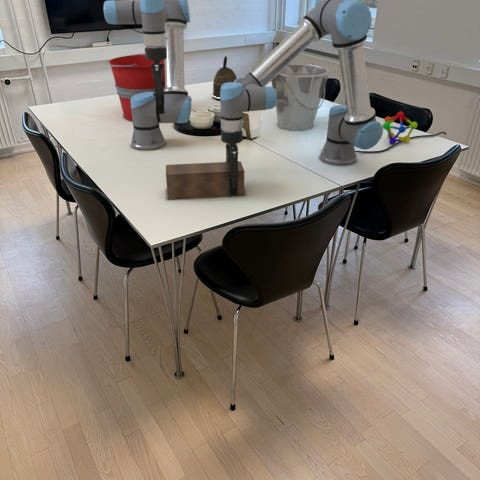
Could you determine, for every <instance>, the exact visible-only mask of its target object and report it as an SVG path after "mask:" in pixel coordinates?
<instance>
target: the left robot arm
mask: <svg viewBox="0 0 480 480" xmlns="http://www.w3.org/2000/svg"><path fill="white" fill-rule="evenodd" d="M103 16H104V19H105V21H106V23H107V24H110V25H116V26H117V25H142V38H143V46H145V47H144V54H145V57H146V59H148V60H153V64H152V65H151V68H152V72H153V78H154V85H155V92H143V93H139V94H136V95H134V96H133V97H132V98H131V111H132V118H133V121H132V125H133V132H132V135H131V142H130V143H131V147H132V148H134V149H135V150H141V151H151V150H153V151H154V150H157V149H161V148H163V147H164V146H165V144H166V140H165V137H164V135H163V132H162V130H161V127H160V124H186V123H188V122H189V121H190V118H191V113H192V96H191V95H189V91H188V90H187V89H186V88H185V47H184V46H185V44H184V43H185V41H184V40H185V39H184V31H185V29H187V27H188V23H191V15H190V7H189V1H188V0H105V1H104V2H103ZM161 60H164V65H165V82H163V80H162V77H163V64H161ZM162 85H165V89H163V86H162Z"/></svg>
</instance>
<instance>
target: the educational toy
mask: <svg viewBox="0 0 480 480" xmlns="http://www.w3.org/2000/svg"><path fill="white" fill-rule="evenodd" d="M397 119H399V124H400V125H399V127H398V126H393V125H391V124H392V123H394V122H395V121H396V120H397ZM403 120H404V121H405V122H407V123H408V124H409V125H407V126H404V123H403ZM382 127H383V130H386V132H387V138H388V142H389V145H394V144H395V143H397V142H399V141H402V142H404V143H409V142H410V140H411V139H410V137H411V134H412V132H413V131H414V130H415V129H417V127H418V122H417V121H411V120H410V119H409V118H408V117H406V116H405V113H404V112H403V111H401V110H400V111H398V112H397V114H396V115H394V116H391V117H390V116H386V117H385V118H384V122H383V123H382ZM392 129H393V130H397V131H398V132H396V134H395V133H394V132H392ZM408 129H409V131H408V133H407V134H406V135H404V136H401V134H403V133H405V132H406V130H408ZM399 135H400V136H399Z"/></svg>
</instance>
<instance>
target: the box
mask: <svg viewBox="0 0 480 480" xmlns="http://www.w3.org/2000/svg"><path fill="white" fill-rule="evenodd" d="M238 177H239V178H238V195H230V179H228V178H230V162H226V161H218V162H215V161H214V162H198V163H179V164H178V163H177V164H165V182H166V192H167V200H169V201H170V200H187V199H201V198H205V199H206V198H219V197H235V196H236V197H237V196H238V197H239V196H244V195H245V169H244V165H243V163H242V161H241V160H238Z"/></svg>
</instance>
